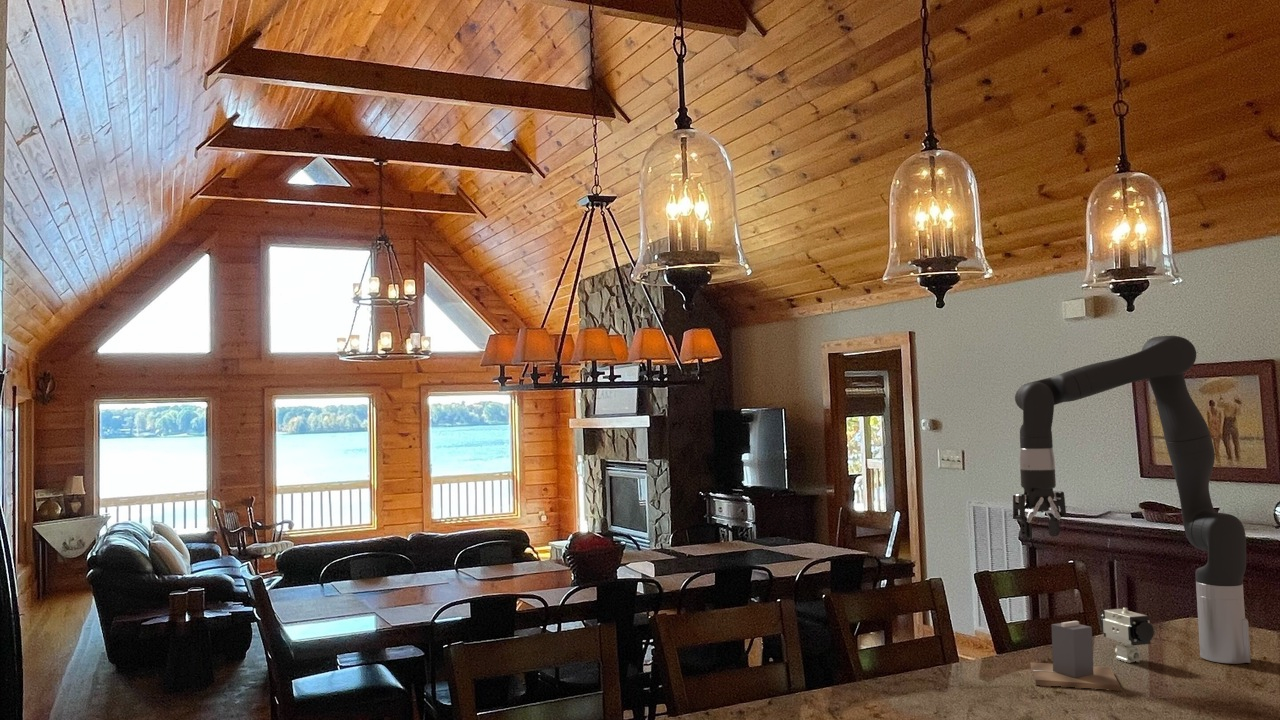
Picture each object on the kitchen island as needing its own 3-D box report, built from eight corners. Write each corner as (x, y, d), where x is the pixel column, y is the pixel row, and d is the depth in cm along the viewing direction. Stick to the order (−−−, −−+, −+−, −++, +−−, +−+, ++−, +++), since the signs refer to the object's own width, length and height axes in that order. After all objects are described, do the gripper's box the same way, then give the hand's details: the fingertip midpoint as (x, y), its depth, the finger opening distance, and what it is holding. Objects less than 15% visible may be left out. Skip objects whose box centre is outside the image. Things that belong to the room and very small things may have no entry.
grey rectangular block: (1071, 668, 202) (1069, 618, 203) (1093, 674, 197) (1091, 623, 198) (1053, 671, 200) (1051, 620, 200) (1075, 677, 195) (1073, 625, 195)
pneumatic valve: (1117, 653, 217) (1114, 602, 218) (1156, 666, 206) (1153, 612, 207) (1097, 656, 216) (1094, 604, 217) (1136, 668, 205) (1133, 614, 205)
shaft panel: (1109, 672, 202) (1108, 643, 203) (1120, 691, 189) (1118, 660, 189) (1030, 667, 207) (1029, 639, 208) (1035, 685, 194) (1034, 655, 195)
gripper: (1027, 469, 210) (1031, 541, 209) (1072, 466, 216) (1076, 536, 215) (1002, 468, 217) (1005, 537, 216) (1046, 465, 223) (1050, 533, 222)
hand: (1040, 537), depth 215 cm, fingers open, 8 cm apart
